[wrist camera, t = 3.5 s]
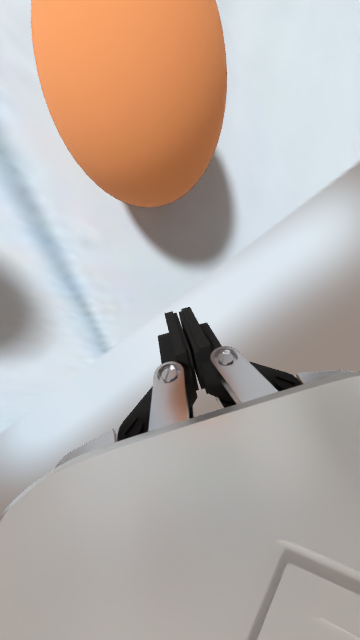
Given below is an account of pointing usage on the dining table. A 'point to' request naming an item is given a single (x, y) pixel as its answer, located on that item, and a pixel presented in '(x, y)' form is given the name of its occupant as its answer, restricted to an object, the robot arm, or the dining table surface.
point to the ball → (134, 90)
